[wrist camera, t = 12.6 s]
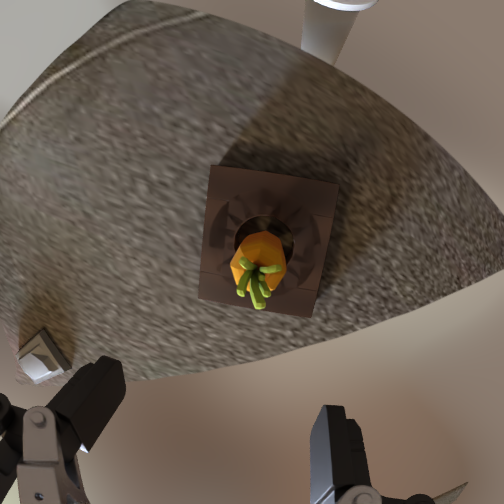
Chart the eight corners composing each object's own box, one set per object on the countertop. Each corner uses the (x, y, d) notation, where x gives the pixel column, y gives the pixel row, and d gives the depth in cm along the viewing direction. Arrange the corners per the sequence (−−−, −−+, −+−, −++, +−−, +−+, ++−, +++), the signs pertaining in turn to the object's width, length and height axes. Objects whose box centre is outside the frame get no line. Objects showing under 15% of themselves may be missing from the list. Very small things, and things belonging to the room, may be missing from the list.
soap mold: (71, 368, 47) (63, 377, 43) (41, 381, 52) (33, 388, 48) (43, 329, 45) (33, 336, 41) (18, 349, 50) (10, 356, 46)
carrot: (247, 216, 34) (219, 251, 19) (289, 222, 33) (292, 262, 19) (243, 255, 35) (214, 314, 21) (283, 261, 35) (280, 325, 20)
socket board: (217, 165, 32) (210, 164, 29) (335, 183, 31) (339, 184, 28) (204, 289, 37) (198, 298, 34) (309, 307, 36) (311, 318, 33)
